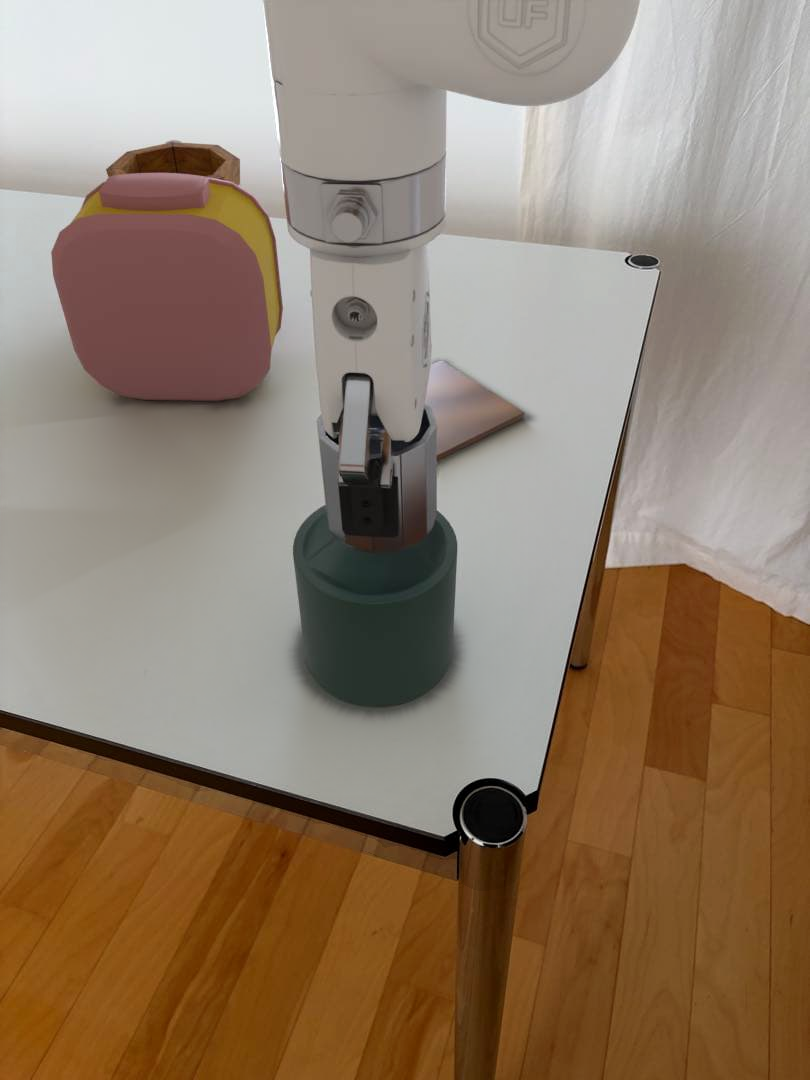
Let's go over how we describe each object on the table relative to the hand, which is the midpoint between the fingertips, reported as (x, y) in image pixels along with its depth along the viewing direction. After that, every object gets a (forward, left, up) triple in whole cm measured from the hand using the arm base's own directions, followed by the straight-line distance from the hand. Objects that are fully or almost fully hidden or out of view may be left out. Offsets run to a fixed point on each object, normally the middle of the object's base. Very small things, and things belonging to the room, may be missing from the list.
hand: (379, 489), depth 54 cm
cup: (0, 0, -2) cm, 2 cm away
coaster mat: (+20, -22, -15) cm, 33 cm away
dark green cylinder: (0, 0, -15) cm, 15 cm away
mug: (+57, -17, -15) cm, 61 cm away
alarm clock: (+40, -7, -15) cm, 43 cm away
